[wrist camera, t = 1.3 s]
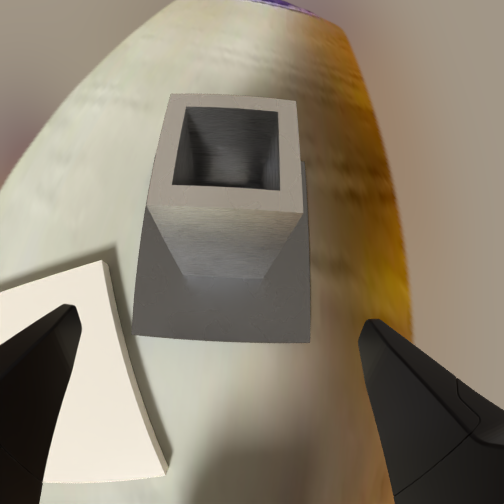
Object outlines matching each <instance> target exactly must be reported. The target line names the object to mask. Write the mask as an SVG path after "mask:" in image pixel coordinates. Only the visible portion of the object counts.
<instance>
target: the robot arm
mask: <svg viewBox="0 0 504 504" xmlns="http://www.w3.org/2000/svg"><path fill="white" fill-rule="evenodd" d="M81 333H82V324H81V321H80V318H79V314H78V311H77V308H76V306H75V305H71V304H62V305H60V306H59V307H57V308H56V309H54V310H53V311H51V312H49V313H48V314H46V315H45V316H43V317H42V318H40V319H39V320H37V321H35V322H34V323H32V324H31V325H29V326H28V327H26V328H25V329H23V330H22V331H20V332H19V333H17V334H16V335H14V336H13V337H11V338H10V339H8V340H7V341H5V342H4V343H2V344H1V345H0V504H39V502H40V496H41V490H42V485H43V483H42V482H43V478H44V473H45V468H46V464H47V459H48V455H49V450H50V446H51V442H52V438H53V434H54V430H55V427H56V423H57V419H58V416H59V412H60V409H61V406H62V402H63V399H64V396H65V392H66V389H67V386H68V383H69V380H70V377H71V374H72V370H73V366H74V362H75V357H76V353H77V349H78V345H79V341H80V337H81ZM358 346H359V351H360V356H361V362H362V368H363V373H364V379H365V384H366V388H367V392H368V395H369V399H370V403H371V406H372V410H373V413H374V417H375V421H376V424H377V428H378V432H379V436H380V440H381V444H382V448H383V452H384V456H385V460H386V464H387V469H388V473H389V477H390V482H391V486H392V491H393V496H394V501H395V504H504V410H503V409H501V408H499V407H498V406H496V405H495V404H493V403H492V402H490V401H489V400H487V399H486V398H484V397H483V396H481V395H480V394H478V393H477V392H475V391H474V390H472V389H471V388H470V387H469V386H467V385H466V384H465V383H463V382H462V381H461V380H459V379H458V378H456V377H455V376H454V375H453V374H452V373H450V372H449V371H448V370H446V369H445V368H444V367H442V366H441V365H440V364H438V363H437V362H436V361H435V360H433V359H432V358H431V357H429V356H428V355H427V354H425V353H424V352H423V351H421V350H420V349H419V348H417V347H416V346H415V345H413V344H412V343H411V342H409V341H408V340H407V339H405V338H404V337H403V336H401V335H400V334H399V333H397V332H396V331H395V330H393V329H392V328H391V327H389V326H388V325H387V324H385V323H384V322H383V321H381V320H380V319H368V320H366V322H365V324H364V326H363V329H362V332H361V334H360V337H359V340H358Z"/></svg>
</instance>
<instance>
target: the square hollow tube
mask: <svg viewBox="0 0 504 504" xmlns="http://www.w3.org/2000/svg"><path fill="white" fill-rule="evenodd" d="M146 205H147V207H148V209H149V211H150V213H151V215H152V217H153V219H154V221H155V223H156V225H157V227H158V229H159V231H160V233H161V235H162V237H163V239H164V241H165V242H166V244H167V246H168V248H169V250H170V252H171V254H172V256H173V258H174V259H175V261H176V263H177V265H178V267H179V269H180V270H181V272H182V274H183V275H191V276H209V277H229V278H251V279H263V278H264V276H265V275H266V273H267V271H268V270H269V268H270V267H271V265H272V263H273V262H274V260H275V259H276V257H277V255H278V254H279V252H280V250H281V249H282V247H283V246H284V244H285V242H286V241H287V239H288V237H289V236H290V234H291V232H292V231H293V229H294V228H295V226H296V224H297V223H298V221H299V219H300V218H301V216H302V214H303V196H302V177H301V160H300V145H299V132H298V119H297V107H296V101H292V100H284V99H275V98H265V97H253V96H239V95H221V94H171V95H170V98H169V102H168V106H167V110H166V114H165V118H164V122H163V126H162V130H161V134H160V138H159V143H158V147H157V152H156V157H155V161H154V166H153V171H152V176H151V182H150V187H149V192H148V198H147V204H146Z"/></svg>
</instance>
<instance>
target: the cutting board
mask: <svg viewBox="0 0 504 504" xmlns="http://www.w3.org/2000/svg"><path fill="white" fill-rule="evenodd" d="M62 304H71V305H75V306H76V308H77V311H78V314H79V318H80V321H81V324H82V333H81V337H80V341H79V345H78V349H77V353H76V357H75V362H74V366H73V370H72V374H71V377H70V380H69V383H68V386H67V389H66V392H65V396H64V399H63V402H62V406H61V409H60V412H59V416H58V419H57V423H56V427H55V430H54V434H53V438H52V442H51V446H50V450H49V455H48V459H47V464H46V468H45V473H44V478H43V482H47V483H97V482H114V481H126V480H135V479H144V478H152V477H159V476H165V475H166V473H167V471H168V469H169V467H168V465H167V463H166V460H165V458H164V456H163V453H162V451H161V448H160V446H159V443H158V441H157V438H156V436H155V433H154V430H153V428H152V425H151V422H150V420H149V417H148V414H147V411H146V408H145V406H144V403H143V400H142V397H141V394H140V391H139V387H138V384H137V381H136V378H135V375H134V371H133V368H132V365H131V361H130V358H129V354H128V350H127V347H126V343H125V339H124V335H123V331H122V327H121V323H120V319H119V315H118V310H117V306H116V301H115V296H114V292H113V287H112V282H111V276H110V271H109V265H108V264H106V263H105V262H104V261H102V260H99V261H96V262H93V263H90V264H86V265H83V266H80V267H76V268H73V269H70V270H67V271H64V272H60V273H57V274H54V275H51V276H48V277H45V278H42V279H38V280H35V281H32V282H29V283H26V284H23V285H20V286H17V287H14V288H11V289H8V290H5V291H2V292H0V345H1V344H2V343H4V342H5V341H7V340H8V339H10V338H11V337H13V336H14V335H16V334H17V333H19V332H20V331H22V330H23V329H25V328H26V327H28V326H29V325H31V324H32V323H34V322H35V321H37V320H39V319H40V318H42V317H43V316H45V315H46V314H48V313H49V312H51V311H53V310H54V309H56V308H57V307H59V306H60V305H62Z"/></svg>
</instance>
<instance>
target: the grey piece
mask: <svg viewBox="0 0 504 504" xmlns="http://www.w3.org/2000/svg"><path fill="white" fill-rule="evenodd" d="M155 157H156V155H155ZM154 161H155V160H154ZM153 166H154V165H153ZM152 171H153V170H152ZM151 176H152V175H151ZM301 177H302V196H303V214H302V216H301V218H300V219H299V221H298V223H297V224H296V226H295V228H294V229H293V231H292V232H291V234H290V236H289V237H288V239H287V241H286V242H285V244H284V246H283V247H282V249H281V250H280V252H279V254H278V255H277V257H276V259H275V260H274V262H273V263H272V265H271V267H270V268H269V270H268V271H267V273H266V275H265V276H264V278H263V279H251V278H229V277H209V276H191V275H183V274H182V272H181V270H180V269H179V267H178V265H177V263H176V261H175V259H174V258H173V256H172V254H171V252H170V250H169V248H168V246H167V244H166V242H165V241H164V239H163V237H162V235H161V233H160V231H159V229H158V227H157V225H156V223H155V221H154V219H153V217H152V215H151V213H150V211H149V209H148V207H147V205H146V208H145V214H144V221H143V227H142V234H141V241H140V249H139V257H138V265H137V274H136V283H135V294H134V305H133V319H132V335H140V336H150V337H161V338H173V339H187V340H202V341H222V342H250V343H310V265H309V234H308V211H307V192H306V175H305V162H302V161H301ZM150 182H151V180H150ZM149 187H150V185H149ZM148 192H149V191H148ZM147 198H148V196H147ZM146 204H147V202H146Z"/></svg>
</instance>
